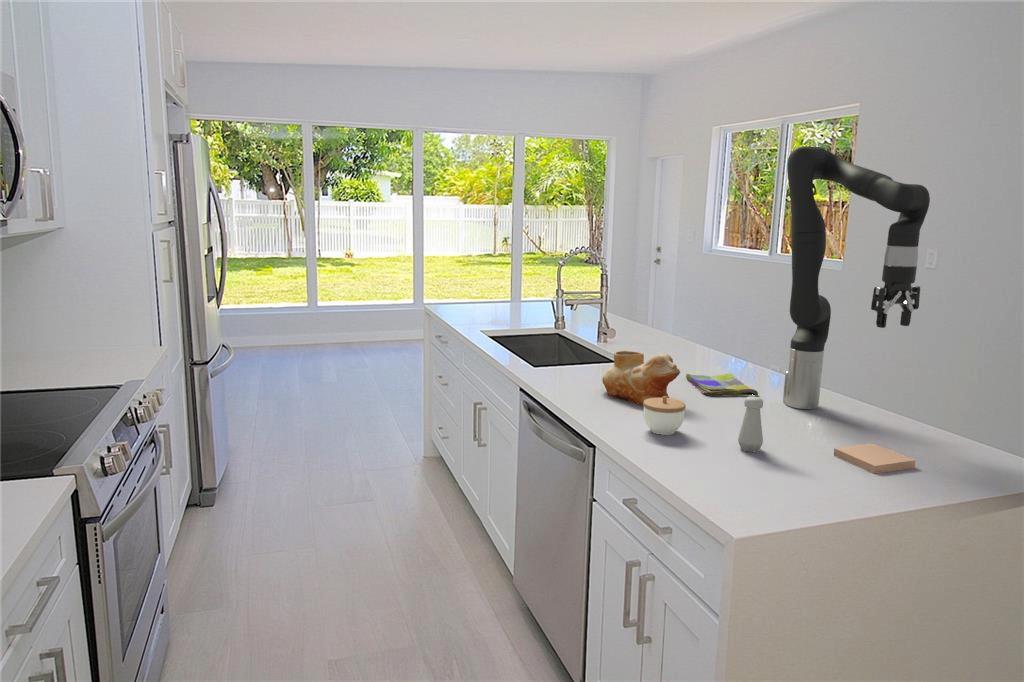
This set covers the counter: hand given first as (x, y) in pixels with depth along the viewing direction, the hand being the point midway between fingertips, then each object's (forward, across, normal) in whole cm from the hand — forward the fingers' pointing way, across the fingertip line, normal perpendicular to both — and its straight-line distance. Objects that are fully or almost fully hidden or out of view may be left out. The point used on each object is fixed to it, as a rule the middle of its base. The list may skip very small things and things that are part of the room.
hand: (892, 326), depth 184 cm
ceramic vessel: (+28, +44, -50) cm, 72 cm away
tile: (+27, +22, +11) cm, 37 cm away
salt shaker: (+28, +44, 0) cm, 52 cm away
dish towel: (+29, +11, -52) cm, 61 cm away
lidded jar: (+28, +56, -19) cm, 66 cm away
